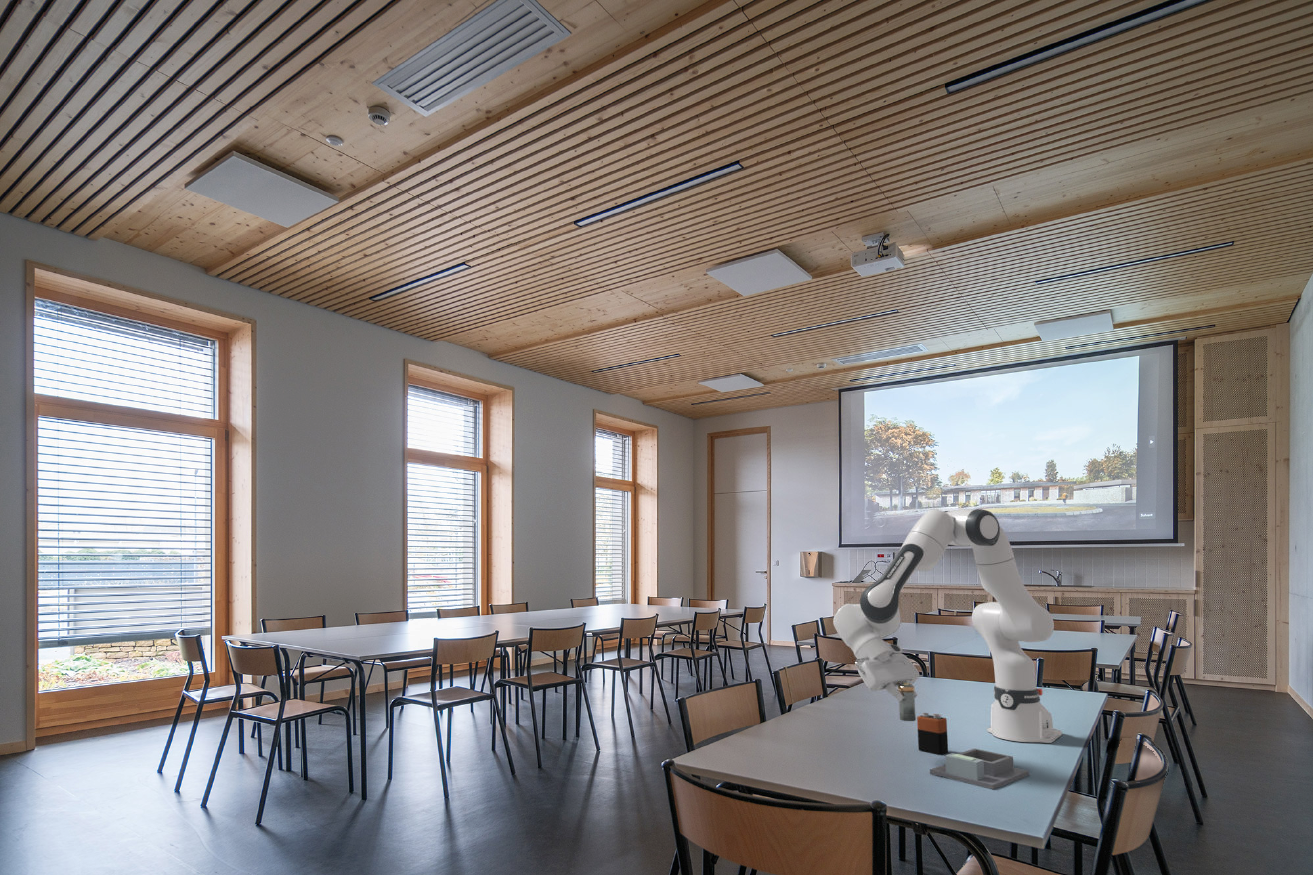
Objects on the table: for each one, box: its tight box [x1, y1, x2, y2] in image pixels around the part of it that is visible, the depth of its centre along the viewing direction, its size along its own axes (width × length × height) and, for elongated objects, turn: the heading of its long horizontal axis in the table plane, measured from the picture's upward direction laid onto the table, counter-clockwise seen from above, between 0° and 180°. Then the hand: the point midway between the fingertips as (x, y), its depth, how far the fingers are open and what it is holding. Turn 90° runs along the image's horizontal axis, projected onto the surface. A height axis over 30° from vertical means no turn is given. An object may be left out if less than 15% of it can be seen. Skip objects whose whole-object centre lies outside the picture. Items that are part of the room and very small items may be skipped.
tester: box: [929, 748, 1030, 790], centre depth 187 cm, size 18×16×5 cm
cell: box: [897, 683, 917, 722], centre depth 199 cm, size 4×4×9 cm
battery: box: [916, 712, 949, 755], centre depth 209 cm, size 4×7×10 cm, turn 42°
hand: (908, 698), depth 199 cm, fingers closed on cell, 4 cm apart
